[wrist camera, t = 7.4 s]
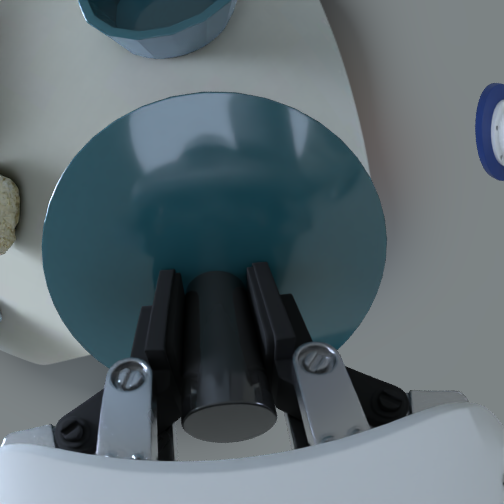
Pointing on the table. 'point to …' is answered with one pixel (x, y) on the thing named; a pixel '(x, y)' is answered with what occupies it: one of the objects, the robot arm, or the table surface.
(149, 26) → the pot
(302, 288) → the lid
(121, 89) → the table surface
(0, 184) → the decorative item
